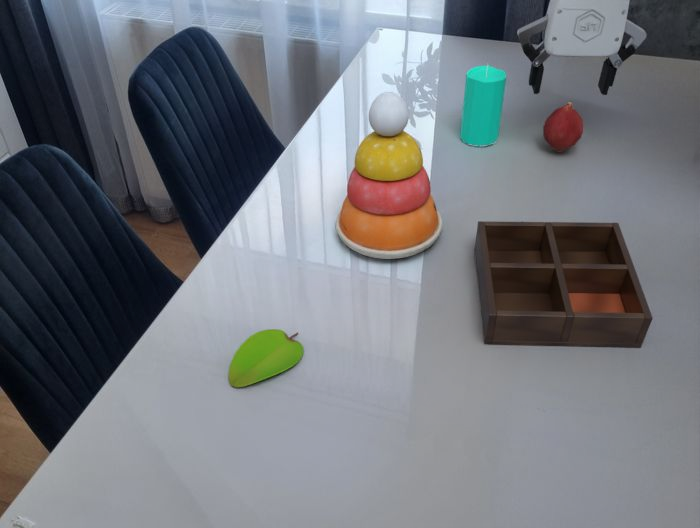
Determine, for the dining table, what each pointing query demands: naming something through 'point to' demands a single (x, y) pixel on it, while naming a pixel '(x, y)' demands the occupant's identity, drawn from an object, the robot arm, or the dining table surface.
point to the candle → (482, 105)
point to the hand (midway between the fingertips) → (568, 90)
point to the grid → (558, 285)
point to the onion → (563, 128)
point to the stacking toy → (389, 189)
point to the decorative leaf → (264, 357)
